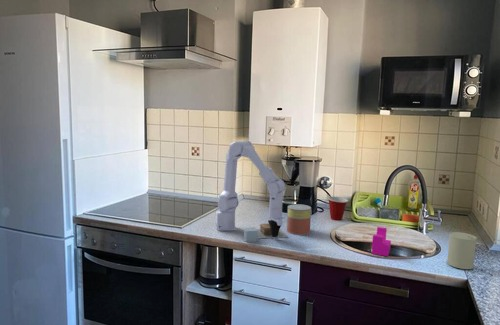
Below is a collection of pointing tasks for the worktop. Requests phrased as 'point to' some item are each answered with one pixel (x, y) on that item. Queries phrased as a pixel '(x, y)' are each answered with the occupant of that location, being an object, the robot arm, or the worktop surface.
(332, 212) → the plastic cup
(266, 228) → the walnut slab
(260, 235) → the light gray board
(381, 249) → the toy block
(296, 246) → the worktop surface
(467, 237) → the can
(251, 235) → the grey cube
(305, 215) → the canned food
